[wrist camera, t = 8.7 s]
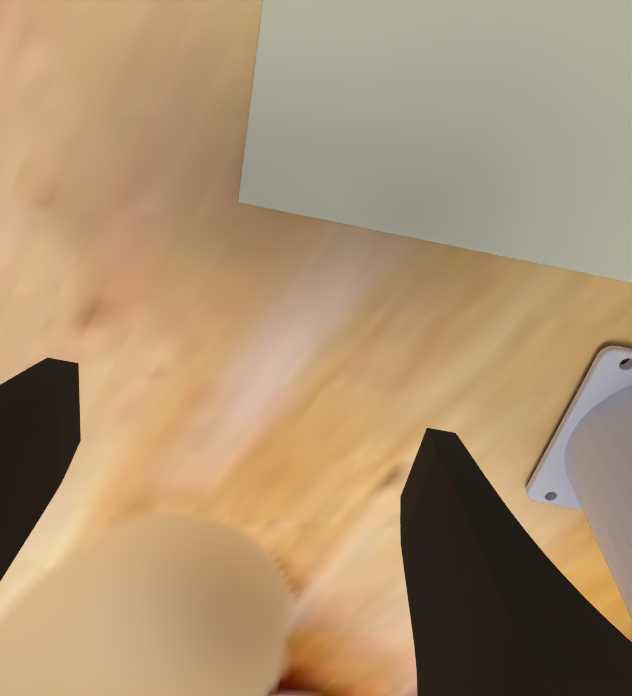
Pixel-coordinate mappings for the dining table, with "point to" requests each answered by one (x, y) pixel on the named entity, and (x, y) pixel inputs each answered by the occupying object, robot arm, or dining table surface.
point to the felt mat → (451, 123)
